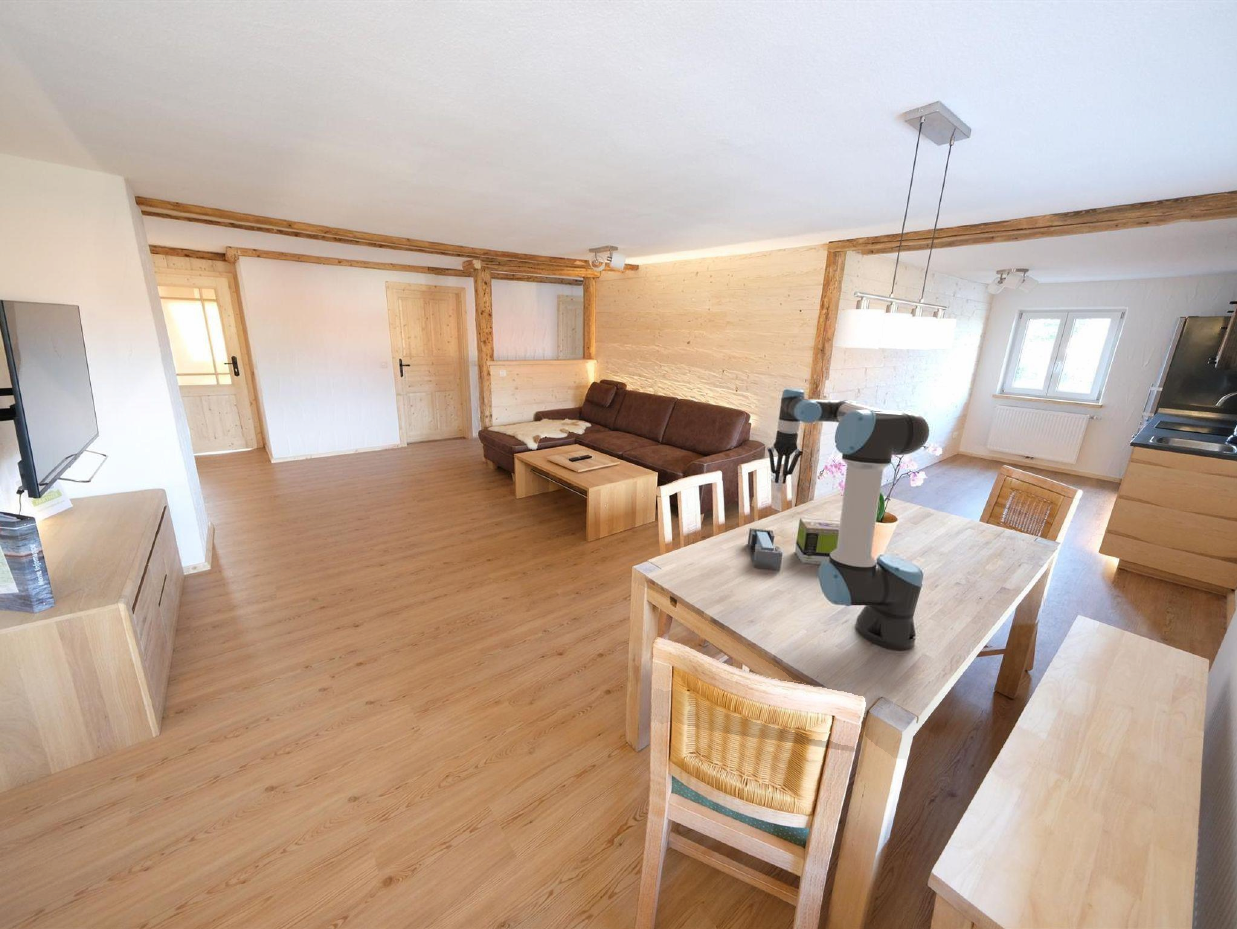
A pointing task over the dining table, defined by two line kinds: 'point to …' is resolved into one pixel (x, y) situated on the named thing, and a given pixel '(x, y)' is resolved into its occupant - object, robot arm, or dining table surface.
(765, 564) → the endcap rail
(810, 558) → the tea box
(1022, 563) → the dining table surface
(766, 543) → the blue-grey block
